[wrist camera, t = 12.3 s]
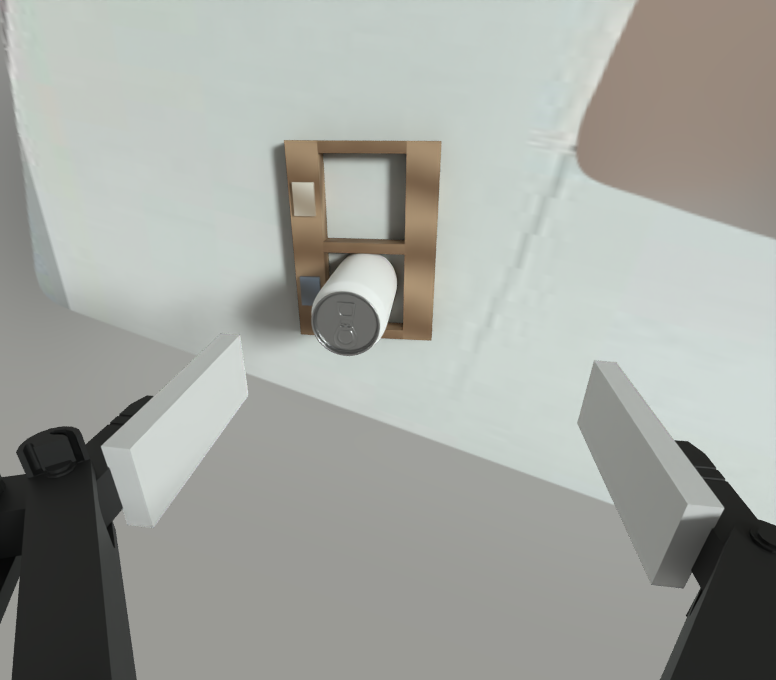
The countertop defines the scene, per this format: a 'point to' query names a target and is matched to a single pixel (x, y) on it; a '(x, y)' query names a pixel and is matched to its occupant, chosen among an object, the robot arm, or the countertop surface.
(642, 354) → the countertop surface
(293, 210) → the socket board
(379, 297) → the can
